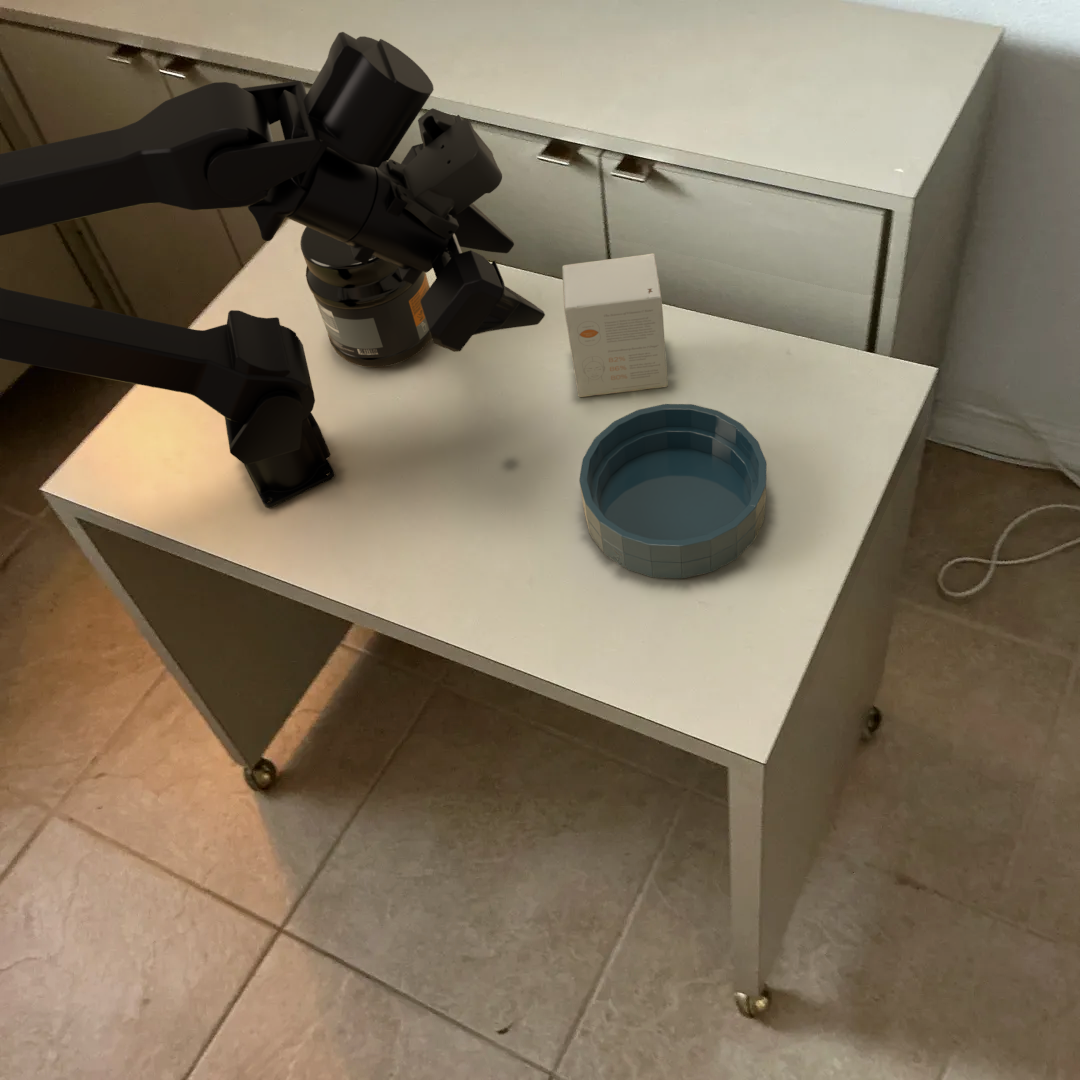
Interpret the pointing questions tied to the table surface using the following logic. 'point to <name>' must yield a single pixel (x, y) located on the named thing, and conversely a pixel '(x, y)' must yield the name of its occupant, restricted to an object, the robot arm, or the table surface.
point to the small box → (615, 325)
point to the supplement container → (365, 303)
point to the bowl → (674, 490)
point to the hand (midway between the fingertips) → (525, 281)
